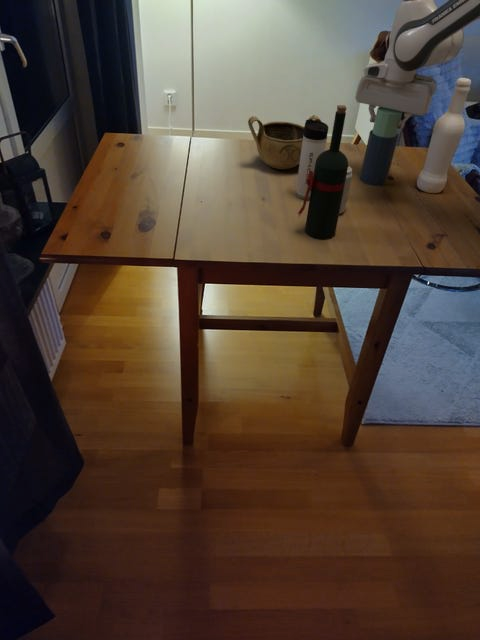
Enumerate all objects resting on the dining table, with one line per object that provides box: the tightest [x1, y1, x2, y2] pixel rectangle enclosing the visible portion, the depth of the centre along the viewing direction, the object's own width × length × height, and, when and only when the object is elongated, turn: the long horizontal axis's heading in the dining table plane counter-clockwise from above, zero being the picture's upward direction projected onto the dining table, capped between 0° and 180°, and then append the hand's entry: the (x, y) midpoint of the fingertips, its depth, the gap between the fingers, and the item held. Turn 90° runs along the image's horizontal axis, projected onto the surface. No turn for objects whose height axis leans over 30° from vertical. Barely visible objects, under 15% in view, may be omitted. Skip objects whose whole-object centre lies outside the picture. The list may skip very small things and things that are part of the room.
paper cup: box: [372, 107, 403, 138], centre depth 130 cm, size 7×7×6 cm
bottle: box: [416, 77, 472, 194], centre depth 129 cm, size 8×8×30 cm
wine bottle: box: [297, 104, 349, 241], centre depth 106 cm, size 8×10×30 cm
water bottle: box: [359, 129, 399, 186], centre depth 135 cm, size 8×8×18 cm
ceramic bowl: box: [247, 114, 322, 170], centre depth 142 cm, size 22×17×15 cm
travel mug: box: [295, 118, 329, 201], centre depth 125 cm, size 6×7×20 cm
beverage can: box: [339, 165, 353, 215], centre depth 121 cm, size 6×6×12 cm
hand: (386, 125), depth 130 cm, fingers closed on paper cup, 6 cm apart
